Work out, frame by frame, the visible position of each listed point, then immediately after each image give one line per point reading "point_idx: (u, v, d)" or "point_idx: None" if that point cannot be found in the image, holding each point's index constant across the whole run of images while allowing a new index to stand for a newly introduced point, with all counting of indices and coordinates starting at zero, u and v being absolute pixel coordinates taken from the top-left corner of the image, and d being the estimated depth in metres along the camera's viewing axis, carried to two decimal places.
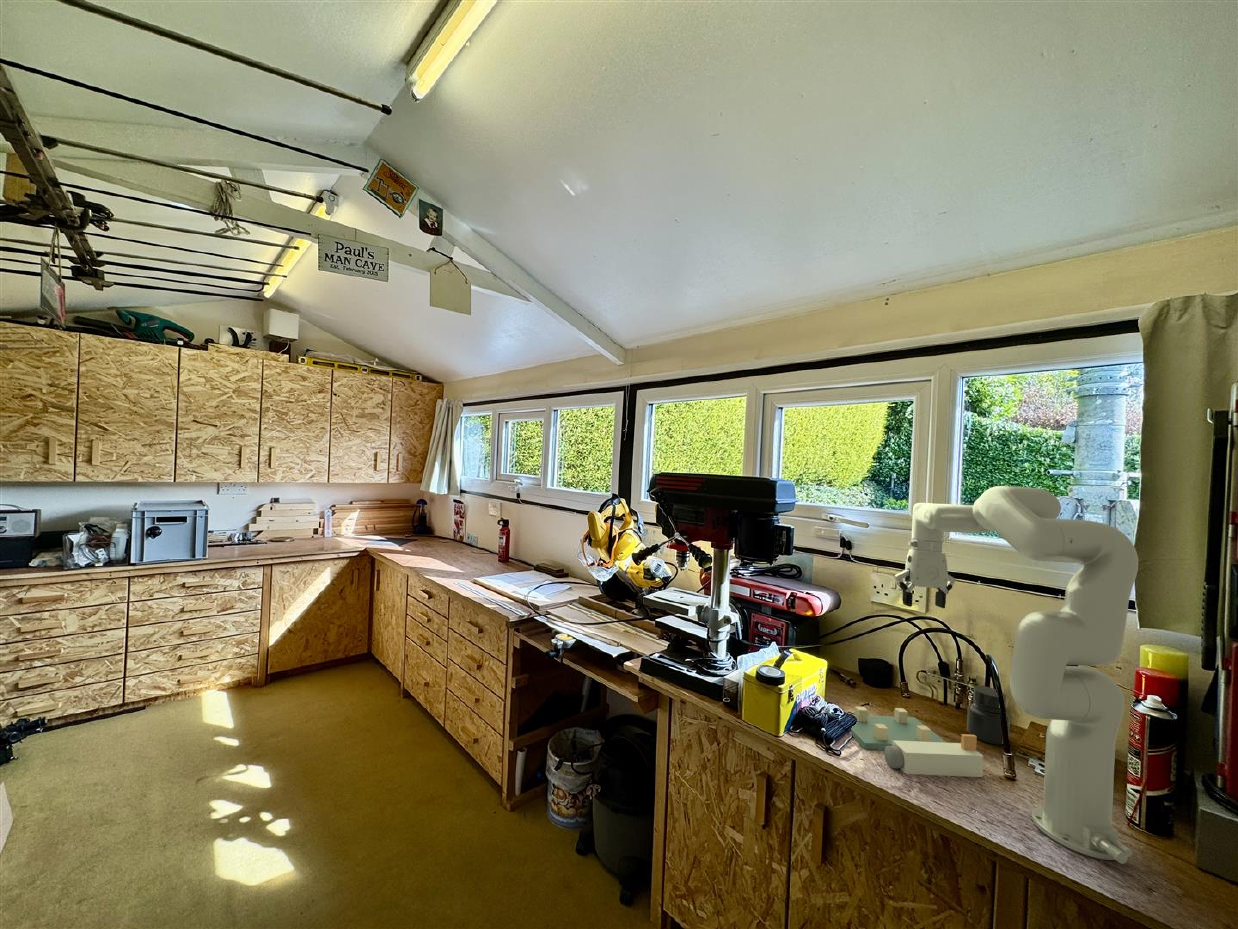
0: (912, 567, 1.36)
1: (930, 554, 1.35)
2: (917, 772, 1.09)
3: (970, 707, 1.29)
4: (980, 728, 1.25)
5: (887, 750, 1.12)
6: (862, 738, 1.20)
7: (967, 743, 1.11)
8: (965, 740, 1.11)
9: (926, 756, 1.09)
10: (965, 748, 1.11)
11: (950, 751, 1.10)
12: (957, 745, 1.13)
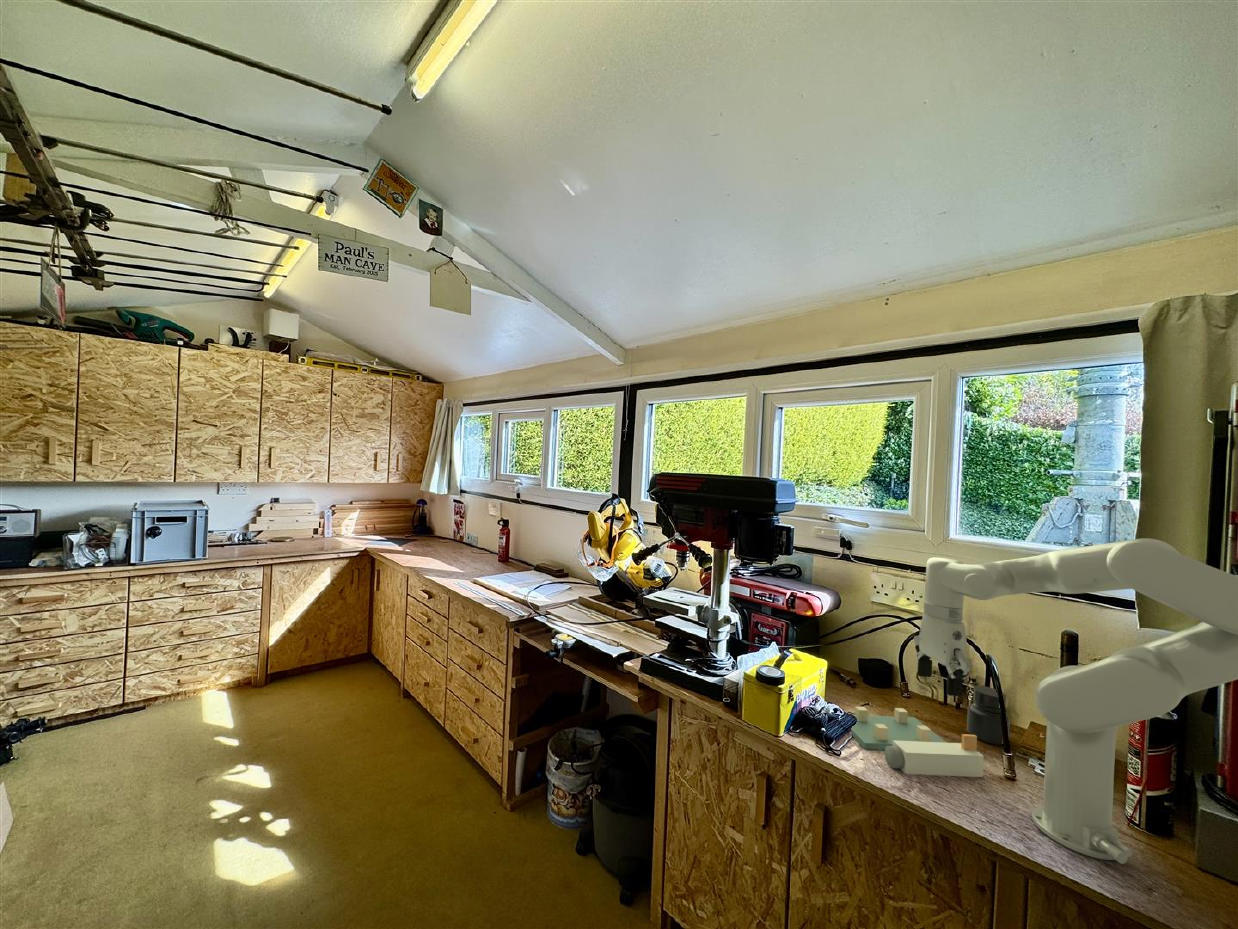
0: (963, 645, 1.07)
1: None
2: (917, 772, 1.09)
3: (970, 707, 1.29)
4: (980, 728, 1.25)
5: (887, 750, 1.12)
6: (862, 738, 1.20)
7: (967, 743, 1.11)
8: (966, 740, 1.11)
9: (926, 756, 1.09)
10: (965, 748, 1.11)
11: (950, 751, 1.10)
12: (957, 745, 1.13)
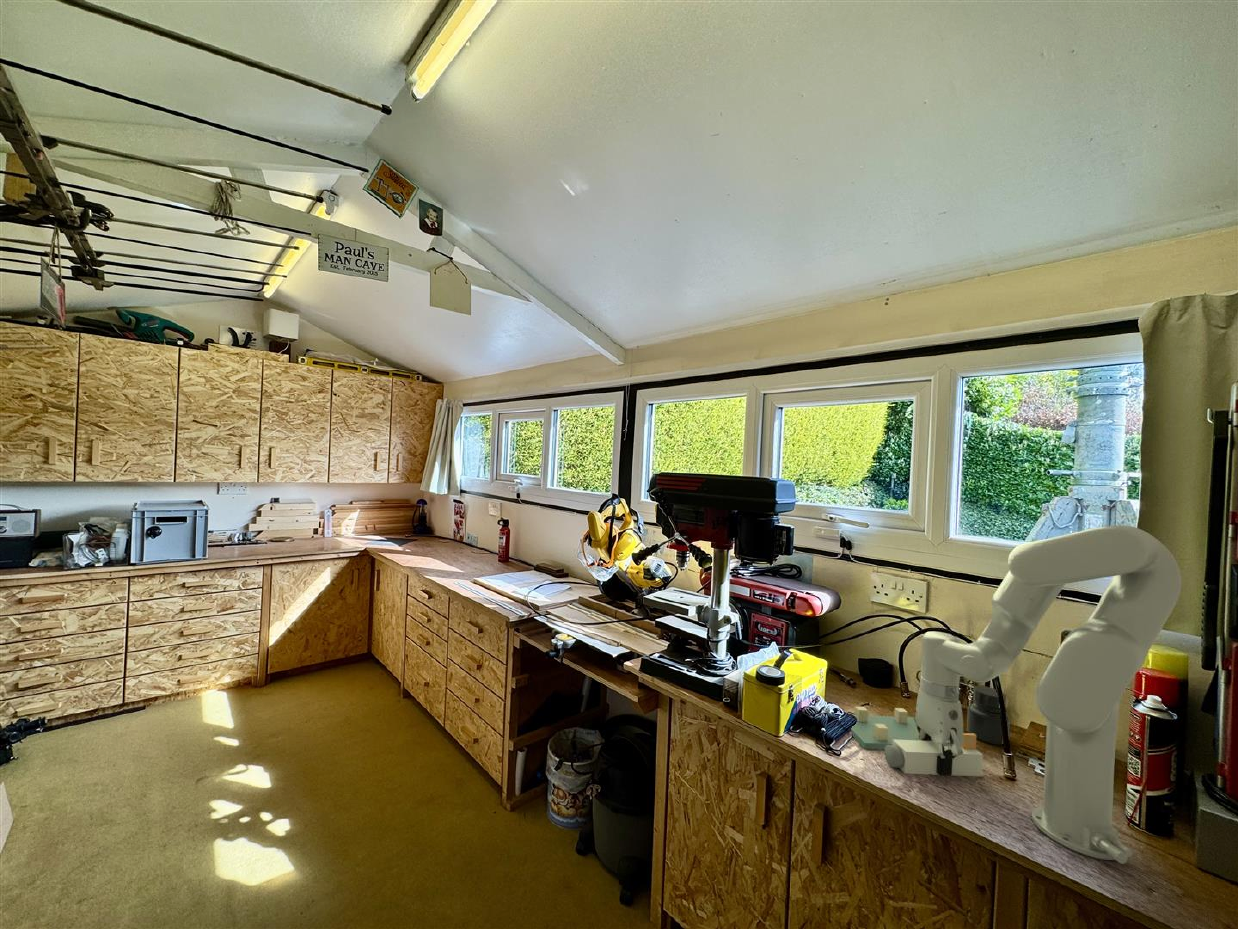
0: (960, 725, 1.07)
1: None
2: (917, 771, 1.09)
3: (970, 707, 1.29)
4: (980, 728, 1.25)
5: (887, 749, 1.12)
6: (862, 738, 1.20)
7: (967, 742, 1.12)
8: (965, 739, 1.12)
9: (926, 755, 1.09)
10: (965, 747, 1.12)
11: None
12: None
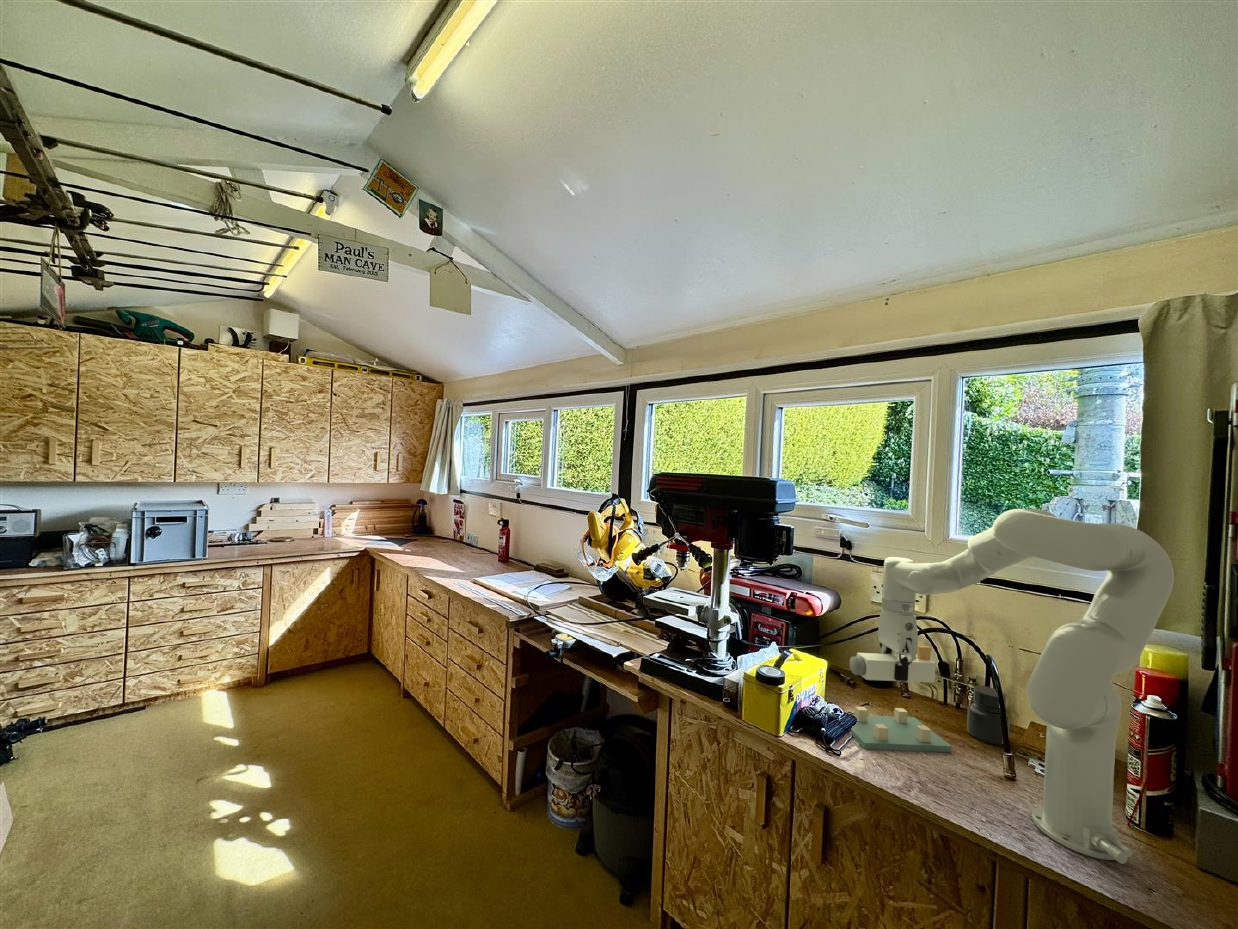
0: (914, 635, 1.21)
1: None
2: (877, 677, 1.23)
3: (970, 707, 1.29)
4: (980, 728, 1.25)
5: (852, 660, 1.26)
6: (862, 738, 1.20)
7: (922, 653, 1.25)
8: (921, 650, 1.25)
9: (885, 663, 1.23)
10: (920, 657, 1.25)
11: None
12: None
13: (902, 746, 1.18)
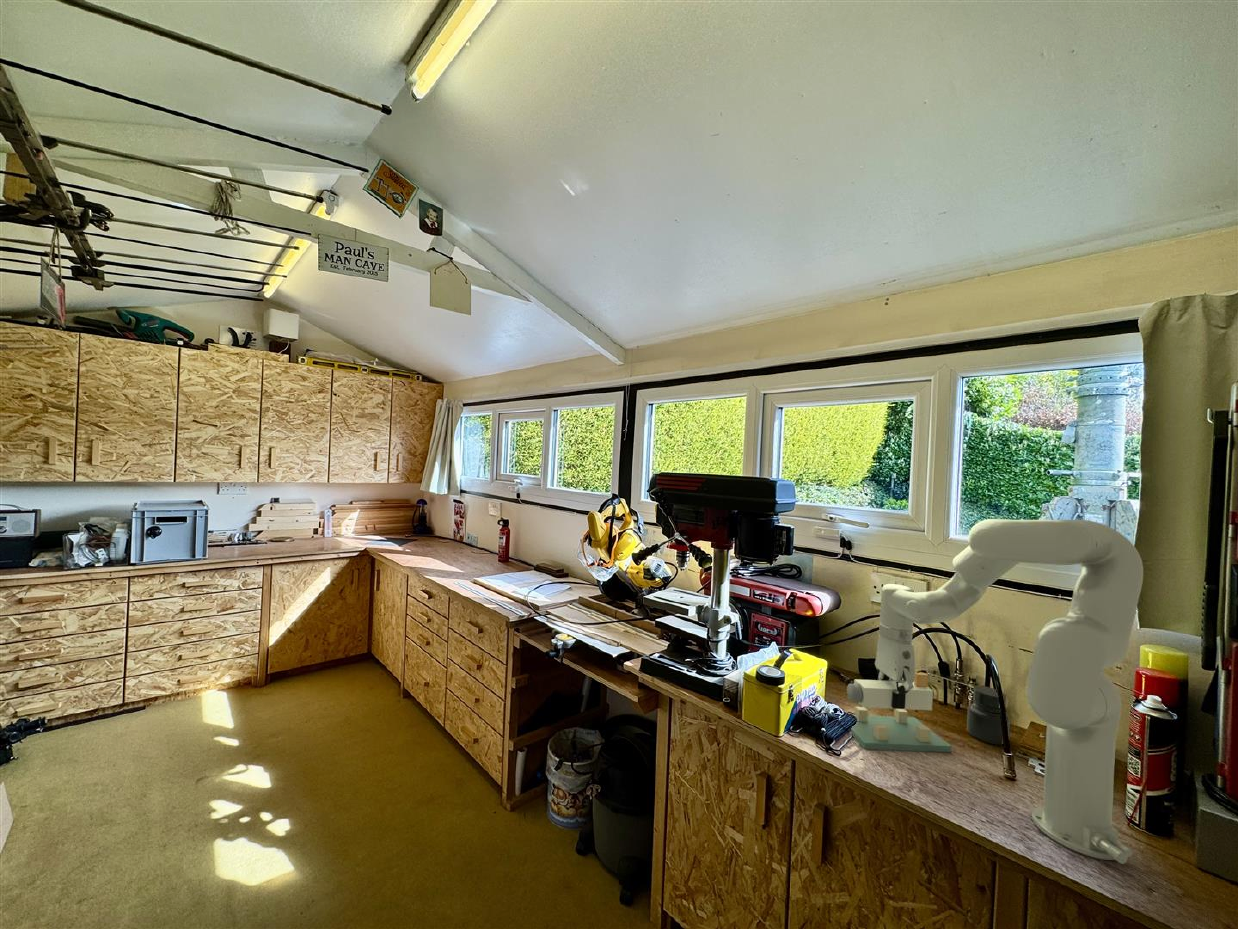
0: (912, 664, 1.21)
1: None
2: (874, 705, 1.23)
3: (970, 707, 1.29)
4: (980, 728, 1.25)
5: (849, 687, 1.26)
6: (862, 738, 1.20)
7: (919, 680, 1.26)
8: (918, 678, 1.26)
9: (882, 691, 1.23)
10: (918, 685, 1.26)
11: None
12: None
13: (902, 746, 1.18)
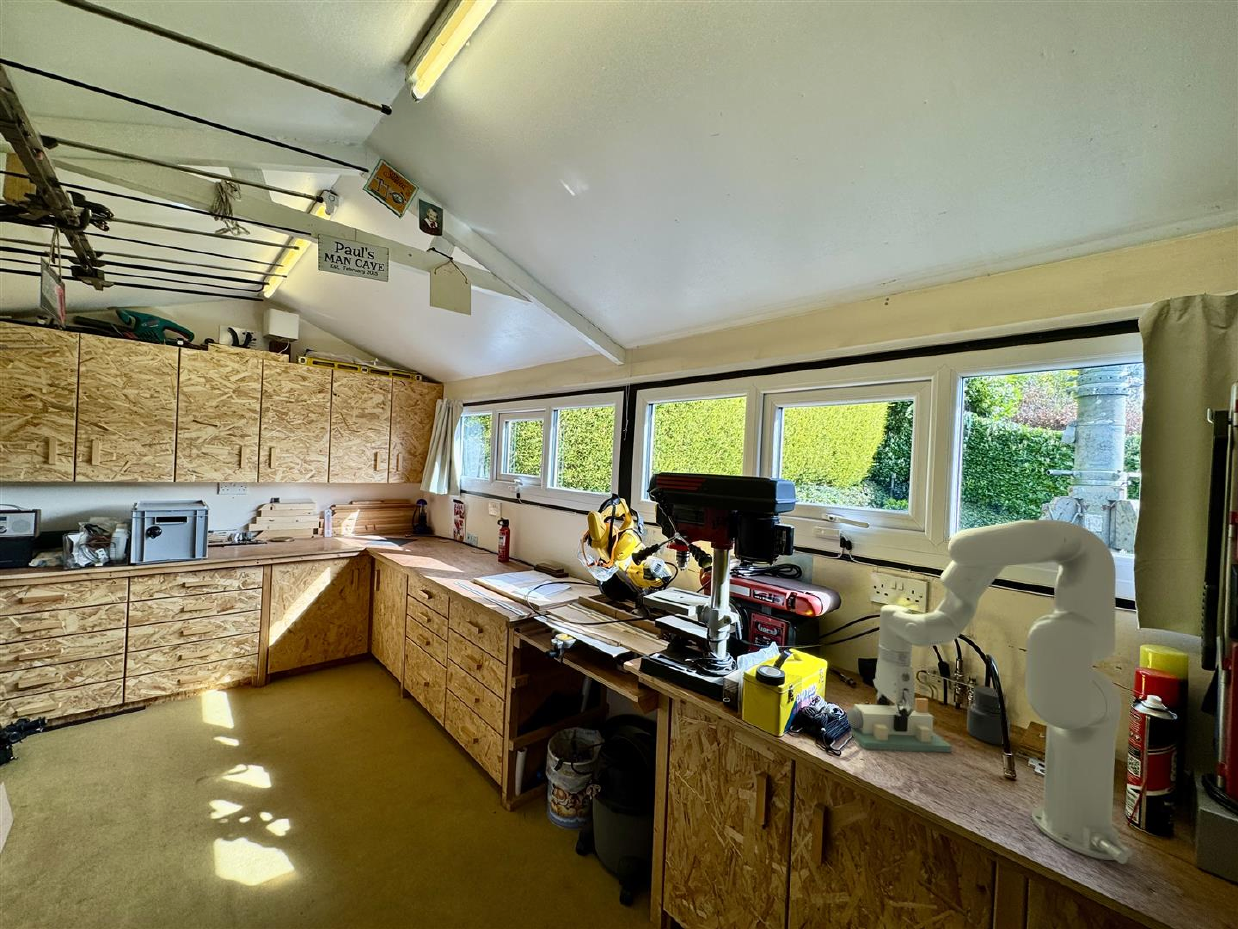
0: (911, 686, 1.21)
1: None
2: None
3: (970, 707, 1.29)
4: (980, 728, 1.25)
5: (849, 712, 1.26)
6: (862, 738, 1.20)
7: (919, 706, 1.25)
8: (918, 703, 1.25)
9: (882, 717, 1.23)
10: (918, 710, 1.25)
11: None
12: None
13: (902, 746, 1.18)
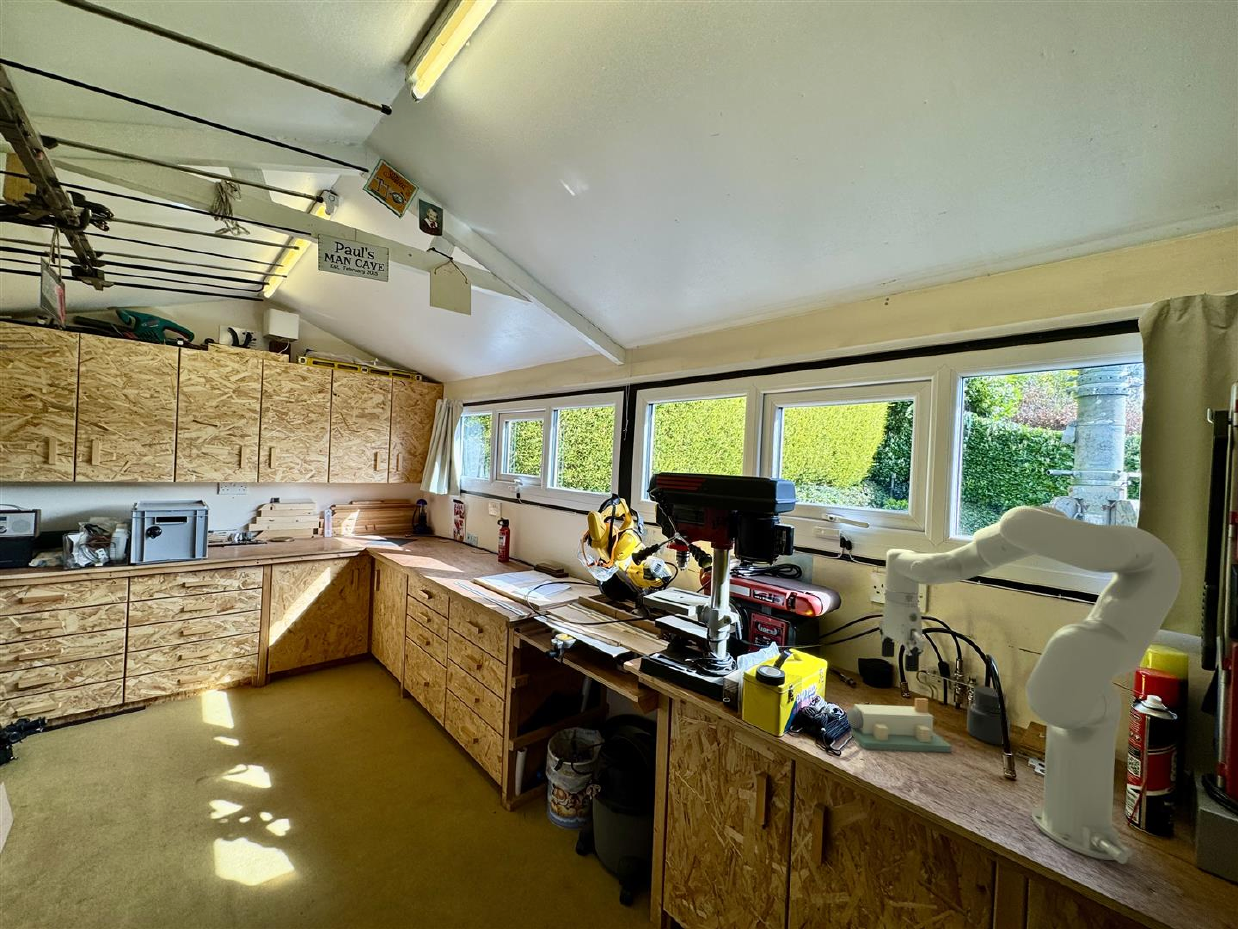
0: (919, 626, 1.21)
1: None
2: None
3: (970, 707, 1.29)
4: (980, 728, 1.25)
5: (849, 712, 1.26)
6: (862, 738, 1.20)
7: (919, 706, 1.25)
8: (918, 703, 1.25)
9: (882, 717, 1.23)
10: (918, 710, 1.25)
11: (904, 712, 1.24)
12: (911, 708, 1.27)
13: (902, 746, 1.18)
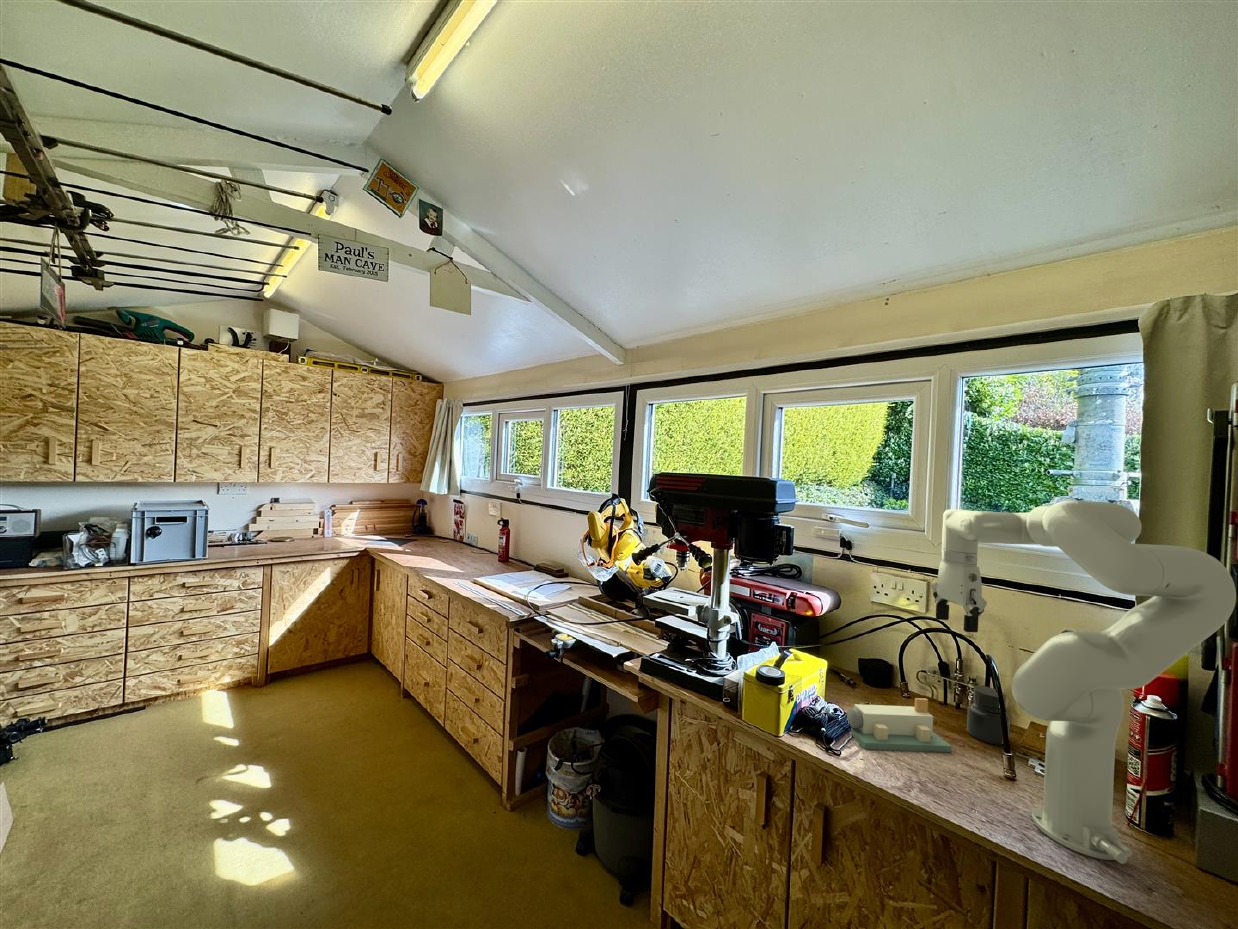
0: (979, 586, 1.18)
1: None
2: None
3: (970, 707, 1.29)
4: (980, 728, 1.25)
5: (849, 712, 1.26)
6: (862, 738, 1.20)
7: (919, 706, 1.25)
8: (918, 703, 1.25)
9: (882, 717, 1.23)
10: (918, 710, 1.25)
11: (904, 712, 1.24)
12: (911, 708, 1.27)
13: (902, 746, 1.18)
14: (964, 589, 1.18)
